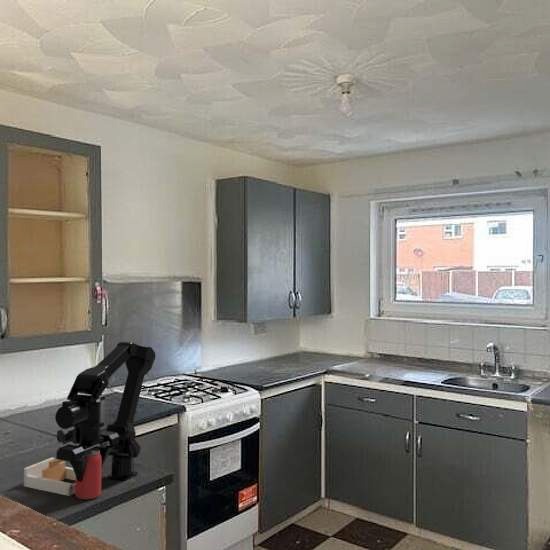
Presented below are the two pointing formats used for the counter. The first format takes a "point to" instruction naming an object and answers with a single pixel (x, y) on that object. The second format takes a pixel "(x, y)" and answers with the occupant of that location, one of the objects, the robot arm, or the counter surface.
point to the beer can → (90, 476)
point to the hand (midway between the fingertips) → (88, 477)
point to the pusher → (54, 470)
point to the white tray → (36, 481)
